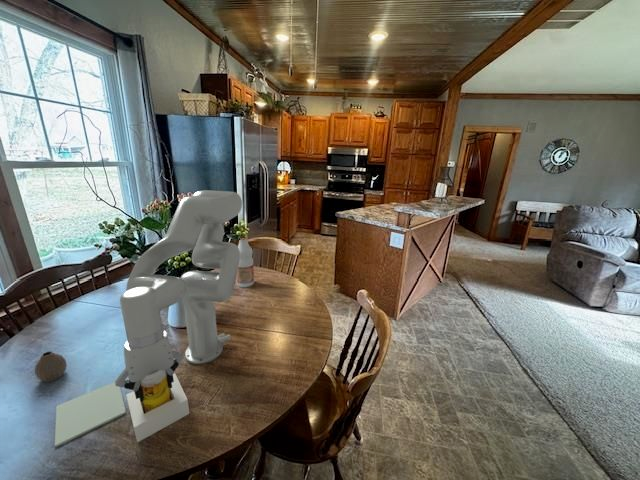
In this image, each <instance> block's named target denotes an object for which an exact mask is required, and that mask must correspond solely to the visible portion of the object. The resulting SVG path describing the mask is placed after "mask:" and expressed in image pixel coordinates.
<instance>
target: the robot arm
mask: <svg viewBox="0 0 640 480" xmlns="http://www.w3.org/2000/svg"><path fill="white" fill-rule="evenodd" d="M242 207H243V200H242V197H241V196H240V194H239V193H237V192H236V191H228V190H227V191H226V190H212V189H211V190H209V189H208V190H207V189H204V190H198V191H195V192H194V193H193V195H190V196H185V197H183V198H182V199H181V200H180V201H179V202H178V205H177V207H176V210H175V213H174V215H173V217H172V219H171V222H170V224H169V227H168V228H167V231H166V233H165V235H164V237H163V238H161V240H159V241H157V242H156V243H154V244H153V245H152V246H151V247H149V248H148V249H147V250H146V251H145V252H143V253H142V254H141V255H140V256H139V258H138V259H137V261H136V262H135V263H134V266H133V268H132V270H131V272H130V274H129V277H128V279H127V283H126V289H125V291H124V292H123V293H122V294H121V296H120V298H119V304H120V310H121V315H122V320H123V324H124V328H125V334H126V339H127V341H126V342H125V343H124V347H123V348H124V349H123V351H124V352H123V354H124V363H125V368H124V370H123V371H122V372H121V373H120V375H118V377H117V378H116V380H115V381H114V382H115V385H116V386H118V387H120V388H124V389H125V390H126V389H127V390H132V392H133V391H134V392H135V396H136V399H138V398H139V399H140V402H143V401H144V399H143V394H142V389H141V387H140V383H141V380H143V379H144V378H145V377H146V375H150V374H152V373H154V372H157V371H158V370H162V371H163V370H165V371H166V374H167V381H168V387H169V388H172V382H174V380H173V374H174V373H175V371H176V369H177V368H178V367H179V364H181V362H182V360H184V358H185V360H186V361H187V362H188V363H191V364H193V365H202V364H206V363H210V362H212V361H215V360H216V359H217V358H218V357H219V356H220V355H221V354H222V352H223V347H224V345H223V343H224V342H227V341H229V340H232V339H231V338H232V336H231V335H230V334H227V335H226V334H225V332H223V333H220V334H219V335H218V330H217V329H218V328H217V318H216V316H217V315H216V307H215V303H214V302H216V303H225V302H227V301H229V300H230V299H231V297H232V295H233V293H234V289H235V286H236V285H235V284H236V282H237V280H236V276H237V271H238V267H239V261H240V251H239V248H238V245H237V244H235V243H232V242H227V241H223V240H224V234H225V228H224V226H223V224H225V223H227V222H229V221H230V220H232V219H233V218H235V217H237V216H238V215H239V214H240V212H241V210H242ZM190 251H192V254H191V262H192V264H193V265H194V266H195V267H198V268H203V269H213V270H219V272H215V271H207V270H206V271H203V270H189V271H187V272H184V273H183V274H182V275H181V276H180V277H177V276H174V275H173V276H172V275H171V276H170V275H164V274H155V272H156V270H157V269H158V268H159V266H160V265H162V264H163V263H165V262H166V261H168V260H169V259H172V258H173V257H176V256H179V255H181V254H182V255H183V254H184V253H188V252H190ZM179 301H182V304H183V309H184V315H185V325H186V332H187V343H188V347H187V348H186V349H185V352H184V354H183V353H180V352H178V351H175V350H173V349H172V346H171V343H170V339H169V336H168V334H167V332H166V330H167V329H170V325H169V323H168V322H167V323H163V321H162V314H161V311H163V310H166V309H167V308H170V307H171V306H174V305H175V304H177V303H178V302H179ZM127 378H128V379H127Z"/></svg>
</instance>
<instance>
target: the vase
mask: <svg viewBox="0 0 640 480" xmlns="http://www.w3.org/2000/svg"><path fill="white" fill-rule="evenodd" d="M67 366H68V365H67V361H66V359H65V358H64V357H63V355H61V354H59V353H55V352H53V351H52V350H51V351H46V352H44V353H42V354H41V356H40V358H39V360H38V361H37V362H36V364H35V367H34V375H35V377H36V378H37V379H38V380H39V382H40V381H41V382H45V383H49V382H53V381H56V380H58V379H60V378H61V377H62V376H63V375H64V374H65V372H66V370H67Z"/></svg>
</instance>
